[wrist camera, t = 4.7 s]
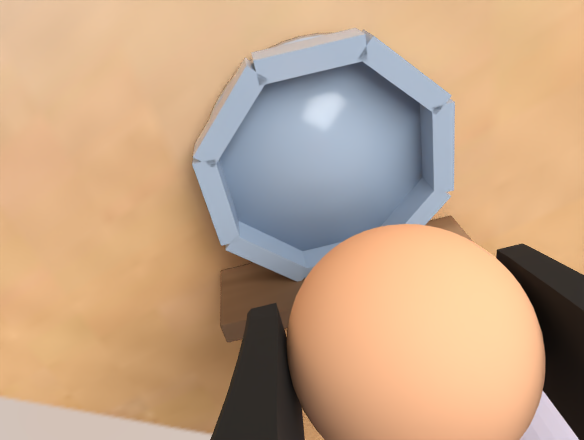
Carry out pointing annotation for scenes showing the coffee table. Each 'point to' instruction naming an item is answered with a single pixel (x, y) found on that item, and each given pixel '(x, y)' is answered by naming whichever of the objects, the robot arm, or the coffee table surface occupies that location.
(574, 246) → the coffee table surface
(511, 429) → the ball
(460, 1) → the coffee table surface
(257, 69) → the dish
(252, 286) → the wooden block
